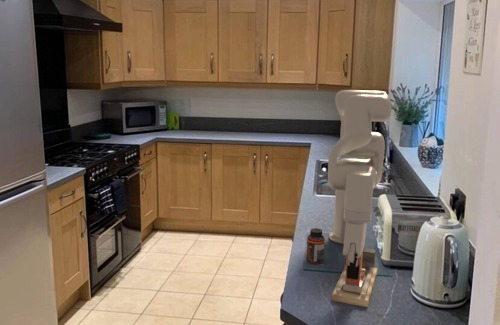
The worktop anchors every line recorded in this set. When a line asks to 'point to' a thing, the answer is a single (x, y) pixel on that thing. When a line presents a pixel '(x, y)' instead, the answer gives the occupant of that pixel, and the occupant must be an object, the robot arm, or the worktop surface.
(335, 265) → the worktop surface
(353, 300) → the base
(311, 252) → the supplement bottle
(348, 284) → the handle
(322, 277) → the worktop surface
